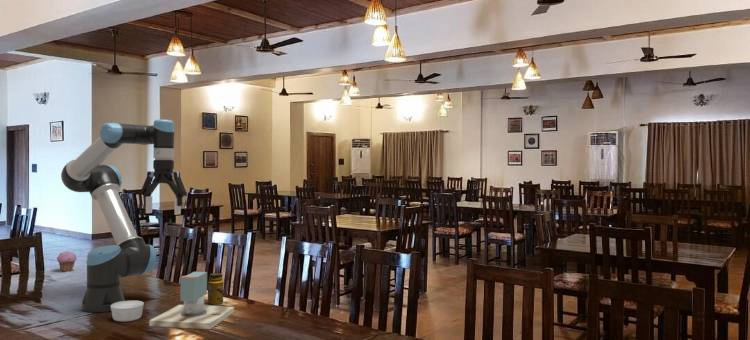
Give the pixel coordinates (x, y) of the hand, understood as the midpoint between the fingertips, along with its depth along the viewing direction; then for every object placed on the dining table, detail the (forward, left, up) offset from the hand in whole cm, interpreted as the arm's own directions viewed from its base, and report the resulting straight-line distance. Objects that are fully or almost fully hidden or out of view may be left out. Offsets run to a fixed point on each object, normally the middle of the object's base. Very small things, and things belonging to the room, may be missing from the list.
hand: (163, 213), depth 216 cm
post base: (+19, -13, -37) cm, 43 cm away
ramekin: (-5, -16, -37) cm, 41 cm away
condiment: (+17, +9, -37) cm, 42 cm away
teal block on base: (+19, -13, -34) cm, 41 cm away
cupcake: (-83, +59, -37) cm, 108 cm away
